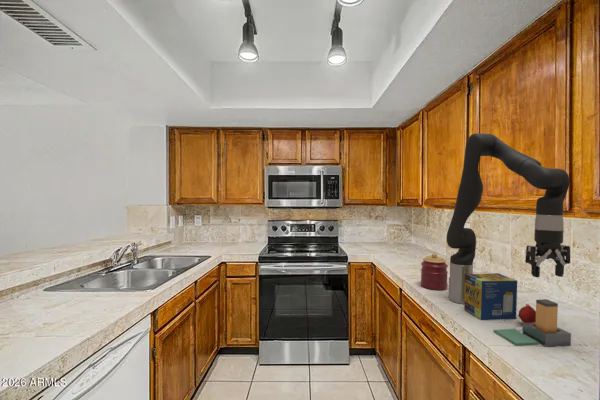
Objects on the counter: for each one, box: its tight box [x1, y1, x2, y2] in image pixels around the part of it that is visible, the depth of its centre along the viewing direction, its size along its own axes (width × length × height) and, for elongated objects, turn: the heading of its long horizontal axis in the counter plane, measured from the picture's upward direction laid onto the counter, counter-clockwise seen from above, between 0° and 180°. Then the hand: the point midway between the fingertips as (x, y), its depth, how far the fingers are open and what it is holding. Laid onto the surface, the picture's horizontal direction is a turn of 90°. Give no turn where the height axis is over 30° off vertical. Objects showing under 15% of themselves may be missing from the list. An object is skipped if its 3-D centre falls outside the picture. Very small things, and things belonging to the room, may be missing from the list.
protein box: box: [463, 272, 518, 321], centre depth 126 cm, size 10×15×16 cm
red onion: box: [518, 303, 536, 323], centre depth 116 cm, size 6×6×8 cm
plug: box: [535, 299, 559, 332], centre depth 105 cm, size 4×4×13 cm
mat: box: [493, 328, 539, 347], centre depth 106 cm, size 10×8×1 cm
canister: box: [420, 252, 449, 291], centre depth 163 cm, size 13×13×18 cm
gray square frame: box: [522, 322, 572, 348], centre depth 105 cm, size 9×9×4 cm
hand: (547, 276), depth 104 cm, fingers open, 8 cm apart
